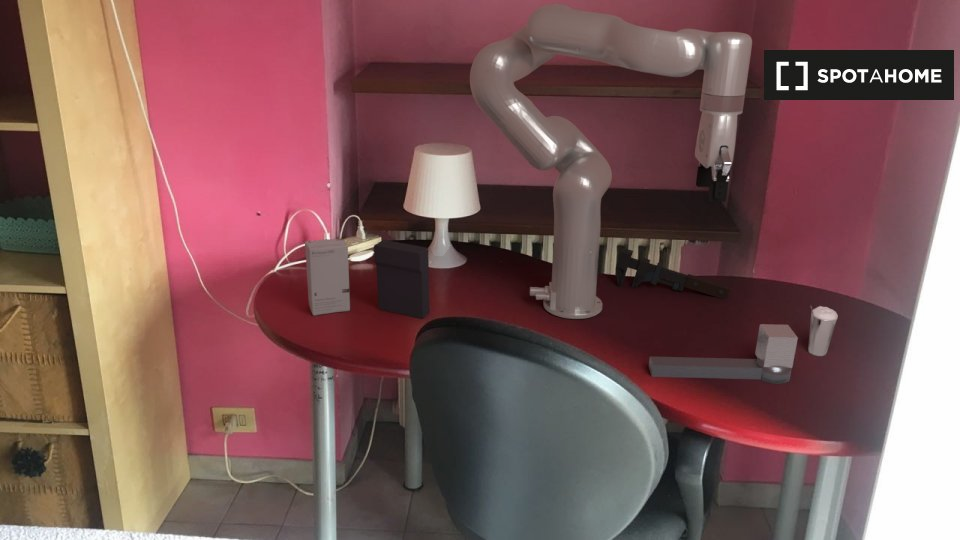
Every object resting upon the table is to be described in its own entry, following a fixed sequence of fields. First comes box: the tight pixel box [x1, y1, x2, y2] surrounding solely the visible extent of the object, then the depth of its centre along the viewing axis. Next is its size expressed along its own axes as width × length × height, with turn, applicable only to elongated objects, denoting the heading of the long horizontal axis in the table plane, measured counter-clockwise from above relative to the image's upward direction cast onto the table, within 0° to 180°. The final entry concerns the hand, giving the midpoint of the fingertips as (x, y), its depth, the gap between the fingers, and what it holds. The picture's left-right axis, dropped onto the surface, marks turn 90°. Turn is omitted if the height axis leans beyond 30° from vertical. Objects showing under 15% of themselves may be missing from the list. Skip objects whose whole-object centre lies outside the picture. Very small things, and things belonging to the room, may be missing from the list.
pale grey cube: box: [754, 323, 799, 368], centre depth 135 cm, size 5×5×6 cm
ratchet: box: [648, 356, 793, 385], centre depth 137 cm, size 25×6×6 cm, turn 88°
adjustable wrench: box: [615, 247, 731, 300], centre depth 171 cm, size 8×3×25 cm
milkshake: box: [807, 304, 839, 357], centre depth 144 cm, size 5×5×10 cm
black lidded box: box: [373, 239, 431, 320], centre depth 158 cm, size 11×4×15 cm, turn 65°
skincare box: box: [304, 238, 351, 317], centre depth 159 cm, size 8×6×15 cm
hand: (710, 193), depth 144 cm, fingers open, 9 cm apart
